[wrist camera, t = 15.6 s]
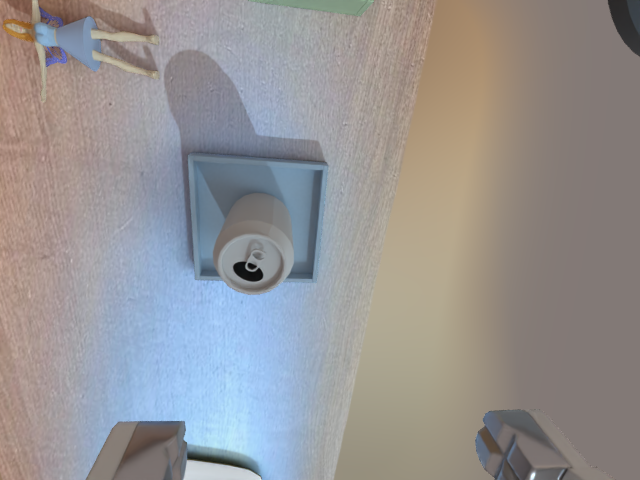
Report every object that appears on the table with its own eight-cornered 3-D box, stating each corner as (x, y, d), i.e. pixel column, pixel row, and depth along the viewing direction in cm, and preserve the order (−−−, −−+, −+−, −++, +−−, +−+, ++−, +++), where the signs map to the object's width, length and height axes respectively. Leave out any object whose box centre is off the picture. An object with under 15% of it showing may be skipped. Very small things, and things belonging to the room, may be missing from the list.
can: (218, 232, 40) (195, 282, 29) (245, 179, 38) (230, 211, 27) (273, 257, 42) (271, 313, 31) (302, 208, 40) (310, 249, 29)
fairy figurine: (152, 121, 32) (0, 98, 29) (162, 117, 36) (31, 97, 33) (149, -22, 28) (-29, -69, 24) (161, -7, 32) (10, -45, 29)
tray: (326, 162, 39) (328, 165, 37) (315, 275, 45) (316, 283, 43) (191, 152, 37) (187, 155, 35) (198, 272, 42) (194, 280, 41)
